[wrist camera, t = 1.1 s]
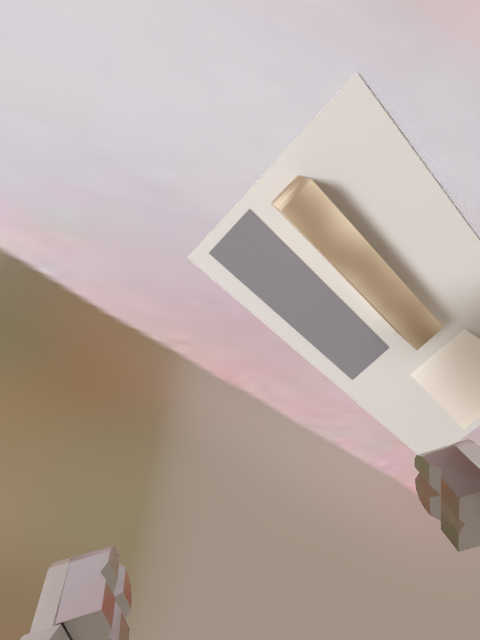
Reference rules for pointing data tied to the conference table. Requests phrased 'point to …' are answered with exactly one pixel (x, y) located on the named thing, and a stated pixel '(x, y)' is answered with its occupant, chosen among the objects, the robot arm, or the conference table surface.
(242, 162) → the conference table surface
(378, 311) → the long tan strip
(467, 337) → the tile
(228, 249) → the mat
